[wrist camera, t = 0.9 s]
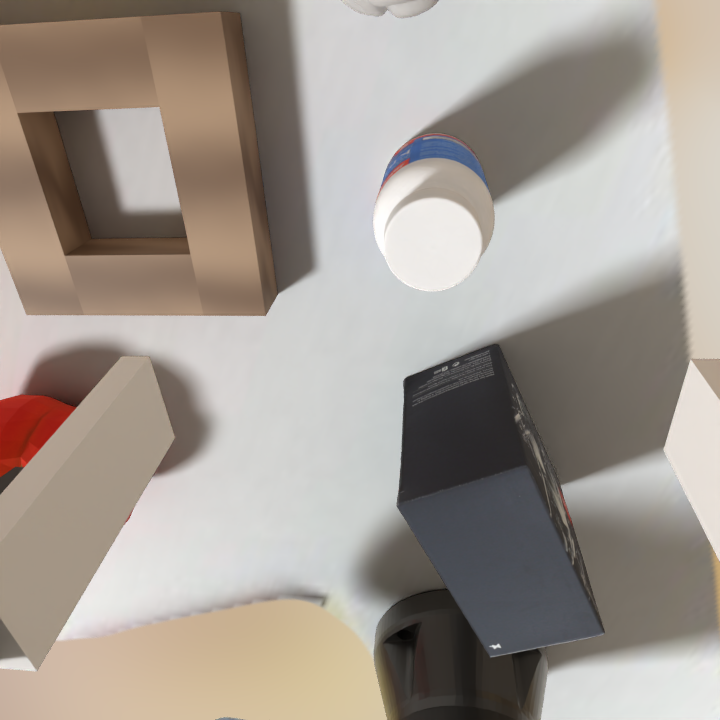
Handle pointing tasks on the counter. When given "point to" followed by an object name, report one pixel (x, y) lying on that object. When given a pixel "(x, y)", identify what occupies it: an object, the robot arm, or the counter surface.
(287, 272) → the counter surface
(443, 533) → the small box
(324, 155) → the counter surface
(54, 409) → the tomato
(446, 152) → the pill bottle
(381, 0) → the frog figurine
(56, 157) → the walnut holder block
